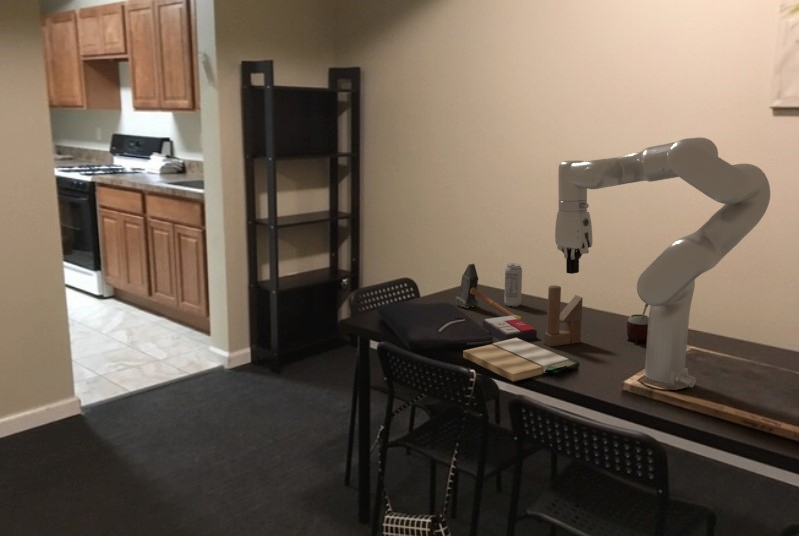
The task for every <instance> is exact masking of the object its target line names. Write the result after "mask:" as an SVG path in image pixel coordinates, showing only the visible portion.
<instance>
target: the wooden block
mask: <svg viewBox="0 0 799 536" xmlns="http://www.w3.org/2000/svg"><path fill="white" fill-rule="evenodd" d="M547 289H548V293H547V294H548V295H547V296H548V297H547V317H546V319H547V322H546V332H544V333H543V334H544V338H543V340H544V341H543V343H544V344H545V345H546V346H548V347H557V346H563V345H564V346H565V345H573V344H578V343H581V336H582V334H581V332H582V318H583V317H582V315H583V299H584V298H583V296H579V295H576V294H575V295H574V296H573V297H572V299H571V300H570V301H569V302H568V304H567V305H566V306H565V307H564V308H563V310H562V311H561V295H562V287H561V286H560V285H549V286H548V288H547ZM560 323H562V324H563V323H564V330H560Z"/></svg>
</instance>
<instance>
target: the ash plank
mask: <svg viewBox="0 0 799 536" xmlns="http://www.w3.org/2000/svg"><path fill="white" fill-rule="evenodd" d="M491 345H493V346H496V347H498V348H500V349H503V350H505V351H507V352H509V353H512V354H514V355H516V356H519V357H521V358H523V359H525V360H528V361H530V362H532V363H535V364H537V365H539V366H541V367H542V374H544V373H546V372H545V371H546V369H547V367H549V366H552V365H556V364H559V363H562V362H567V361H569V362H570V359H569V358H567V357H565V356H562V355H559V354H557V353H555V352H553V351H550V350H549V349H545V348H543V347H540V346H538V345H536V344H533V343H531V342H528V341H527V340H525V341H523V340H521V339H518V338H513V339H509V340H505V341H501V340H500V341H497V342H494V343H492V344H491Z"/></svg>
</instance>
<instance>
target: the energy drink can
mask: <svg viewBox="0 0 799 536" xmlns="http://www.w3.org/2000/svg"><path fill="white" fill-rule="evenodd" d="M522 286H523V268H522V267H521V264H520V263H512V262H511V263H507V264H506V268H505V269H504V296H503V297H504V301H503V302H504V304H505V306H506V305H509V306H518V307H520V306H519V305H521V304H522V290H523V289H522Z"/></svg>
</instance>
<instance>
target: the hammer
mask: <svg viewBox="0 0 799 536" xmlns="http://www.w3.org/2000/svg"><path fill="white" fill-rule="evenodd" d="M460 282H461V283H460V287H459V294H458V296H455V297H454V303H455V304H457V305H458V306H460V307H461V308H462V307H464V308H466V307H471V308H473V307H472V306H476V307H477V306H478V304H479V301H478V300H477V299H476V297H477V298H478V299H480V300H482V301H483V302H484V303H486V304H488V305H490V306H491V308H494V309H496V310H498V312H501V313H502V314H503V315H504V316H513V317H515V318H516V319H519V320H521V321H523V322H524V319H523V317H522V316H520V315H515V314H514V313H512V312H511V311H509V310H508V309H506V308H505V307H503V306H501V305H500V304H499V303H497V302H496V301H495V300H492V299H491V298H489V297H488V296H486V295H485V294H483V293H482V292H480V291H478V290H477V289H478V284H479V283H478V282H479V276H478V272H477V269H476V265H475V263H469V264H468V265H467V267H466V269H465V271H464V273H463V274H462V276H461V281H460ZM464 308H463V309H464ZM466 309H467V308H466Z"/></svg>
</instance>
